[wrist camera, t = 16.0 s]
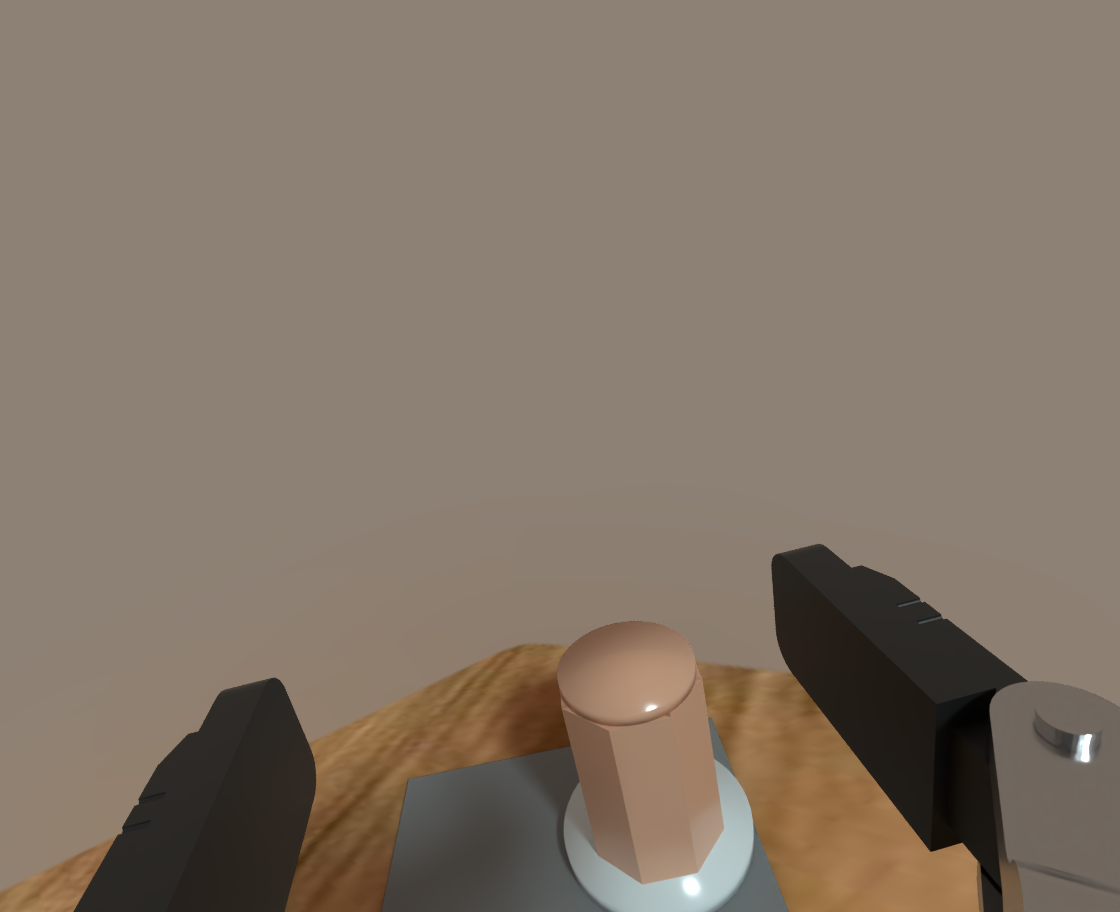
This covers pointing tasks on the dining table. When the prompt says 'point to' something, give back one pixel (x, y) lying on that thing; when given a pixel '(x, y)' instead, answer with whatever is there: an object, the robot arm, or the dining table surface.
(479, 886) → the rubber mat
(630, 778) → the domed octagonal post
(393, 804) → the dining table surface
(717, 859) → the saucer
